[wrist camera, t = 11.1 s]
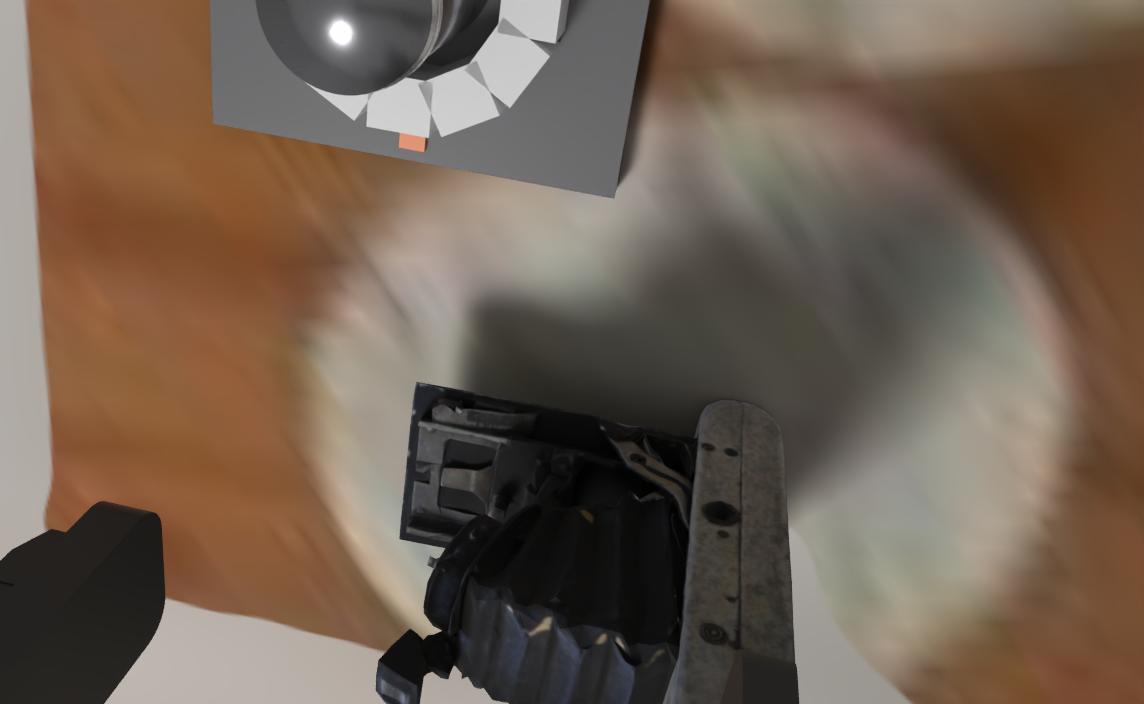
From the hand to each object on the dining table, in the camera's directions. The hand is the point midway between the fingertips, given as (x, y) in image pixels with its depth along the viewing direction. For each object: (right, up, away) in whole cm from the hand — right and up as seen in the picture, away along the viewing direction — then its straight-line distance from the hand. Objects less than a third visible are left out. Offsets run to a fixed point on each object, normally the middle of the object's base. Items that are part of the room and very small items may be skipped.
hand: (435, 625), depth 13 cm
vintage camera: (+3, -1, +32) cm, 32 cm away
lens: (-3, +17, +22) cm, 28 cm away
